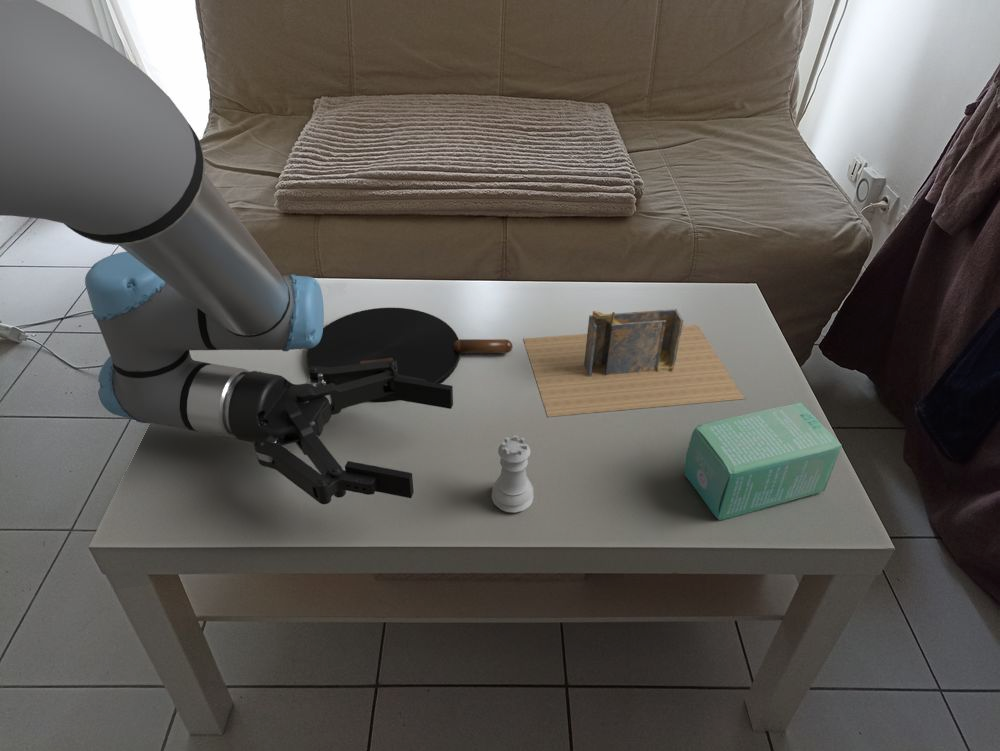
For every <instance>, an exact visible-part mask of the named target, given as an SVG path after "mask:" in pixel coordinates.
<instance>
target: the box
mask: <svg viewBox="0 0 1000 751" xmlns="http://www.w3.org/2000/svg"><path fill="white" fill-rule="evenodd" d="M842 447H843V445H842V443H841V442H840V441H839V440H838V439H837V438H836V437H835V436H834V435H833V434H832V433H831V432H830V431H829V430H828V429H827V427H826V426H825V425H824V424H823V423H822V422H821V421H820V420H819V419H818V418H817V417H816V416H815V415H814V414H813V413H812V412H811V411H810V409H809V408H807V406H806V405H805V404H804V403H803V402H797V403H792V404H788V405H787V404H786V405H781V406H777V407H772V408H768V409H764V410H763V409H762V410H759V411H755V412H749V413H746V414H741V415H740V414H739V415H736V416H731V417H727V418H724V419H719V420H715V421H711V422H707V423H703V424H698V425H697V426H696V427H695V428H694V429H693V431H692V433H691V437H690V440H689V443H688V447H687V450H686V452H685V460H684V461H685V462H684V471H683V474H684V476H685V477H686V478H687V480H688V481H689V483H690V484H691V485H692V487H693V488H694V490H696V492H697V493H698V495H699V496H700V497H701V499H702V500H703V502H704V503H705V505H706V506H707V507H708V509H709V511H710V512H711V514H713V516H714V517H715V518H716V519H717V520H718V521H724V520H728V519H731V518H736V517H739V516H743V515H746V514H749V513H750V514H751V513H753V512H757V511H761V510H764V509H767V508H771V507H774V506H778V505H781V504H784V503H785V504H786V503H788V502H791V501H794V500H798V499H801V498H805V497H809V496H812V495H813V496H814V495H816V494H819V493H820V494H821V493H823V492H825V491H826V488H827V485H828V483H829V481H830V478H831V474H832V472H833V469H834V467H835V464H836V461H837V459H838V456H839V455H840V451H841V450H842Z"/></svg>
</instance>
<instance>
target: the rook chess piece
mask: <svg viewBox="0 0 1000 751" xmlns="http://www.w3.org/2000/svg"><path fill="white" fill-rule="evenodd" d="M531 451H532V450H531V447H530V446H529V444H528V442H526V438H524V437H520V439H519V435H514V434H513V435H512V438H510V436H506V437H505V438H504V440H503V441H502V442H501V444H500V445H499V446H498V449H497V454H498V455H499V457H500V459H499V460H500V461H499V464H500V466H501V470H500V474H499V476H498V478H496V480H495V482H494V483H493V485H492V490H491V500H492V503H493V505H495V506H496V507H497V508H498V509H499V510H501V511H503V512H505V513H509V514H517V513H521V512H523V511H525V510H526V509H528V508H529V507H531V505H532V504H533V502H534V496H535V495H534V487H533V485H532V482H531V481H530V480H529V477H528V476H527V470H526V469H527V466H528V463H529V460H528V459H529V457H530V456H531Z"/></svg>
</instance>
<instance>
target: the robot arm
mask: <svg viewBox="0 0 1000 751" xmlns="http://www.w3.org/2000/svg"><path fill="white" fill-rule="evenodd" d="M0 216H4V217H5V216H8V217H21V218H30V219H40V220H46V221H51V222H55V223H60V224H63V225H65V227H67V228H68V229H70V230H71V231H72V232H74V233H76V234H77V235H79V236H81V237H83V238H86V239H88V240H90V241H92V242H97V243H100V244H103V245H104V244H105V245H111V246H120V248H121V249H123V250H124V251H121V252H117V253H114V254H110V255H108V256H105V257H104V258H101V259H100V260H98V261H96V262H95V263H94V264H92V266H91V267H90V269H89V270H88V271H87V273H86V275H85V276H84V277H85V278H84V284H85V290H86V292H87V295H88V299H89V302H90V305H91V309H92V310H91V311H92V312H91V314H92V316H93V319H95V320H96V323H97V325H98V327H99V330H100V332H101V335H102V338H103V340H104V343H105V345H106V348H107V350H108V353H109V357H108V358H107V359H106V360H105V361H104V363H103V365H102V366H101V369H100V371H99V373H98V378H97V382H98V383H99V388H98V390H97V395H98V398H99V401H100V403H101V405H102V407H104V409H105V410H107V411H108V412H109V413H111V414H112V415H114V416H115V415H116V416H119V417H122V418H125V419H130V420H133V421H136V422H137V423H140V424H152V425H159V426H164V427H170V428H176V429H181V430H187V431H193V432H198V433H203V434H209V435H212V436H213V435H214V436H218V437H224V438H228V439H229V438H231V439H233V438H236V439H237V440H240V441H244V442H248V443H253V447H254V450H255V454H256V459H257V462H258V464H259V465H260V466H262V467H265V468H270V469H273V470H276V472H278V473H280V474H281V475H282V476H284V477H285V478H286V479H287V480H289V481H290V482H291V483H293V484H294V485H296V487H298V488H299V489H301V490H302V491H303V492H304V493H306V494H307V495H308V496H310V497H311V498H313V499H314V500H315V501H316V502H318V503H319V504H321V505H327V504H329V503H331V501H332V497H335V498H339V499H340V498H343V497H345V496H346V493H347V492H352V493H357V494H362V495H367V496H371V495H374V494H375V493H376V492H377V493H382V494H386V495H392V496H396V497H397V496H398V497H401V498H406V499H407V498H408V499H412V498H413V495H414V481H413V472H408V471H403V470H398V469H392V468H387V467H382V466H377V465H371V464H366V463H361V462H357V461H356V462H355V461H351V460H347V461H346V464H345V465H344V469H343V468H342V466H341V465H340V463H339V462H338V461H337V460H336V458H335V457H334V456H333V455H332V453H331V452H330V451H329V449H328V448H327V447H326V445H325V444H324V443H323V442H322V440H321V439H320V438H319V437H320V436H321V434H322V433H323V430H324V427H325V425H327V424H328V423H329V422H330V420H331V418H332V416H335V415H339V414H340V413H341V411H342V410H343V409H346V408H349V407H354V406H358V405H360V404H364V403H367V402H368V401H370V400H374V399H377V398H381V397H384V396H388V395H391V394H395V399H396V400H395V401H403V402H408V403H414V404H420V405H425V406H431V407H437V408H443V409H450V410H452V408H453V406H454V396H453V395H454V392H453V390H454V387H453V385H450V384H444V383H441V384H439V383H433V382H427V381H426V380H424V379H422V378H416V377H409V376H403V375H400V374H398V367H397V361H395V360H388V361H380V362H372V363H364V364H355V365H347V366H339V367H331V368H329V367H318V366H313V367H310V368H308V369H307V371H308V379H307V380H306V382H305V383H299V384H297V383H296V384H294V383H292V382H290V381H289V380H288V379H286V377H284V376H282V375H281V374H280V375H279V374H275V373H269V372H263V371H257V370H251V371H250V370H249V369H246V368H243V367H242V368H241V367H235V366H230V365H223V364H216V363H209V362H205V361H200V360H194V359H193V358H192V356H191V353H190V351H282V352H289V351H290V350H308V349H310V348H313V347H315V346H316V345H317V344H318V343H319V342H320V340H321V337H322V333H323V328H324V325H325V323H324V322H325V310H324V307H325V306H324V298H323V297H324V296H323V292H322V291H323V290H322V288H321V286H320V283H319V281H318V280H317V279H316V278H314V277H312V276H306V275H296V274H294V273H293V274H287V275H282V273H281V272H280V271H279V270H278V269H277V267H276V266H275V264H274V263H273V262H272V261H271V259H270V258H269V257H268V255H267V254H266V253H265V251H264V250H263V249H262V247H261V246H260V245H259V243H258V242H257V241H256V239H255V237H254V236H253V235H252V234H251V233H250V231H249V230H248V228H247V227H246V226H245V224H244V223H243V222H242V220H241V219H240V217H238V215H237V214H236V212H235V211H234V210H233V208H232V207H231V206H230V204H229V203H228V202H227V201H226V199H225V198H224V196H223V195H222V194H221V192H220V191H219V190H218V188H217V187H216V186H215V184H214V183H213V182H212V180H211V179H210V178H209V176H208V175H207V174H206V160H205V153H204V150H203V146H202V143H201V141H200V139H199V137H198V135H197V133H196V132H195V131H194V129H193V127H192V126H191V124H190V123H189V121H188V120H187V119H186V117H185V116H184V115H183V113H182V111H181V110H180V109H179V108H178V106H177V105H176V104H175V103H174V101H173V100H172V99H171V97H170V96H169V95H168V94H167V93H166V92H165V91H164V90H163V89H162V88H161V87H160V86H159V85H158V84H157V83H156V82H155V81H154V80H153V79H152V78H151V77H150V76H149V75H148V74H147V73H146V72H144V71H143V70H142V69H140V67H138V66H137V65H136V64H135V63H133V62H132V61H131V60H130V59H129V58H128V57H126V56H125V55H123V54H122V53H121V52H120V51H118V50H117V49H115V47H113V46H112V45H110V44H109V43H108V42H106V41H105V40H104V39H102V37H100V36H98V35H97V34H95V33H93V32H91V31H90V30H88V29H87V28H86V27H84V26H83V25H81V24H79V23H78V22H77V21H75V20H73V19H71V18H70V17H68V16H66V15H65V14H64V13H61V12H59V11H57V10H56V9H53V8H52V7H50V6H48V5H46V4H45V3H42V2H41V1H39V0H0ZM386 370H387V371H386ZM384 384H387V385H386V386H384ZM326 396H329V397H330V400H329V399H328V398H327V397H326ZM318 436H319V437H318ZM290 444H296V445H297V447H298V448H299V449H300V451H301V452H302V453H303V455H304V456H307V458H308V459H309V460H310V461H311V463H312V464H313V465H314V467H315V468H316V469H314V467H312V466H311V465H310V464H308V463H306V462H305V461H304V460H303V459H301V458H299V457H298V456H297V455H295V454H294V453H292V452H291V451H290V450H288V449H287V447H284V446H286V445H290Z"/></svg>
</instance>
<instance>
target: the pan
mask: <svg viewBox="0 0 1000 751" xmlns="http://www.w3.org/2000/svg"><path fill="white" fill-rule="evenodd" d="M512 350H513V342H512V341H511V340H509V339H507V338H506V339H501V338H499V339H498V338H497V339H493V338H492V339H489V338H488V339H485V338H484V339H482V338H480V339H477V338H473V339H472V338H471V339H468V338H464V339H461V338H460V339H459V337H458V335H457V332H456V331H455V330H454V329H453V328H452V326H450V325H449V324H448V323H447V322H445V321H444V320H442V319H441V318H439V317H437V316H435V315H433V314H431V313H428V312H426V311H422V310H417V309H414V308H413V309H412V308H405V307H377V308H369V309H363V310H359V311H355V312H352V313H349V314H346V315H344V316H341V317H339V318H337V319H335V320H333V321H331V322H330V323H328V324H326V325H325V326H323V333H322V337H321V340H320V342H319V343H318V344H317V345H316V346H315V347H313V348H310V349H307V351H306V363H307V368H308V369H309V368H310V367H313V366H318V367H329V368H331V367H339V366H347V365H355V364H360V361H367V360H377V359H387V358H392V359H393V360H395V361H397V367H398V374H400V375H403V376H409V377H416V378H422V379H424V380H426V381H427V382H433V383H439V384H443V382H445V381H446V380H447V379H448V378H449V377H450V376H451V375H452V374H453V373H454V371H455V370H456V368H457V367H458V365H459V362H460V359H461V354H509V353H510V352H511V351H512ZM393 401H397V400H396V399H395V394H391V395H388V396H384V397H381V398H377V399H374V400H370V401H367V402H370V403H380V402H381V403H383V402H384V403H385V402H393Z"/></svg>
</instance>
